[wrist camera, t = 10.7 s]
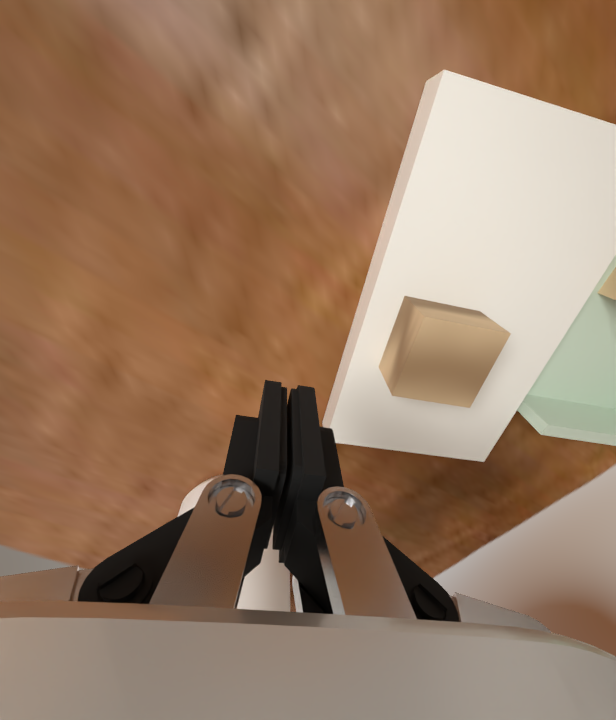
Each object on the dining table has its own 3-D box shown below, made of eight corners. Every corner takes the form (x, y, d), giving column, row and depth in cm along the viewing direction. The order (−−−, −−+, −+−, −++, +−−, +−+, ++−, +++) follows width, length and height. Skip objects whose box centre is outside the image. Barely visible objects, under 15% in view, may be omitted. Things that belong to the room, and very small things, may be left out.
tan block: (404, 295, 18) (424, 316, 16) (479, 311, 19) (511, 333, 16) (378, 366, 20) (392, 395, 18) (446, 378, 21) (469, 408, 18)
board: (426, 81, 15) (444, 69, 14) (644, 149, 17) (684, 146, 15) (322, 422, 25) (325, 441, 23) (471, 442, 26) (484, 461, 25)
